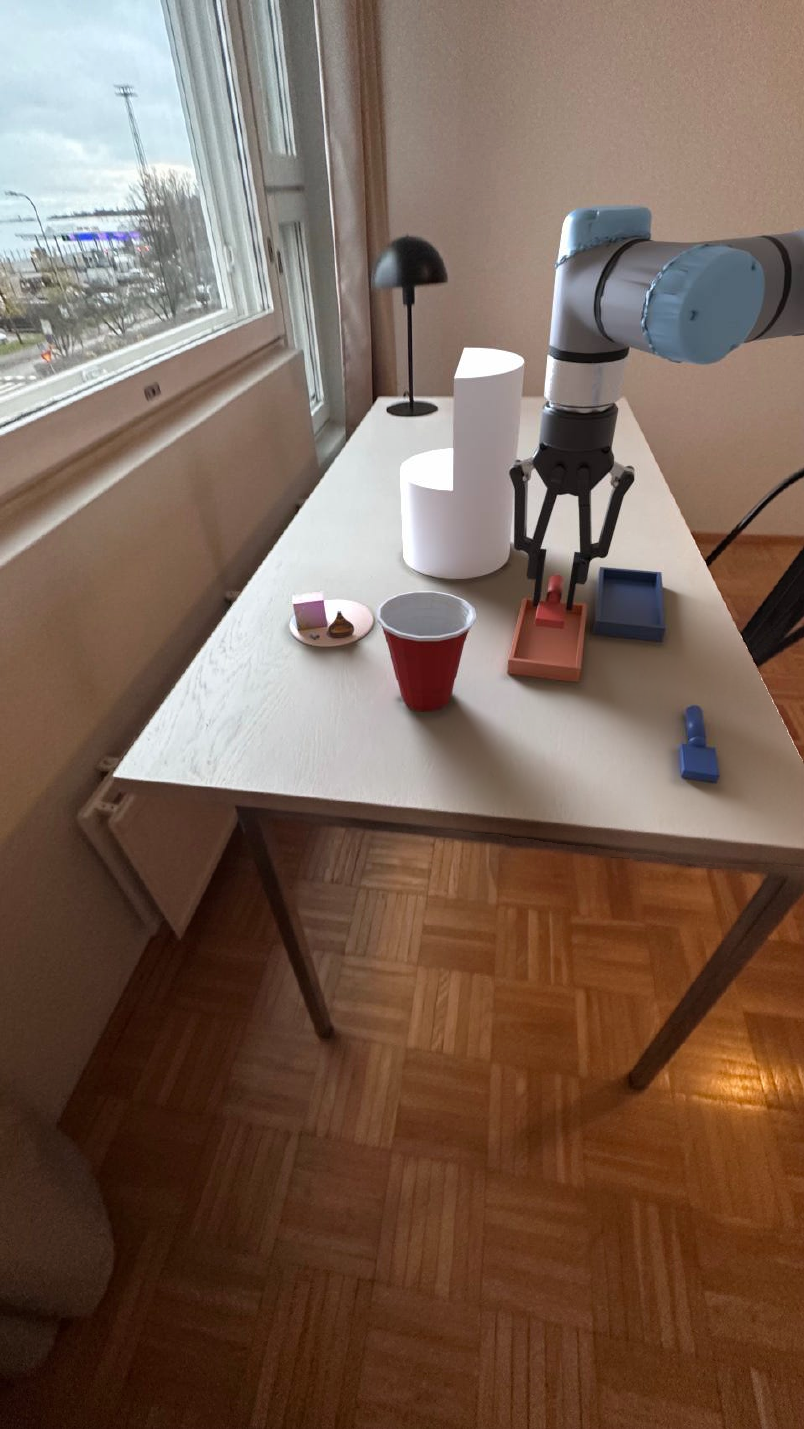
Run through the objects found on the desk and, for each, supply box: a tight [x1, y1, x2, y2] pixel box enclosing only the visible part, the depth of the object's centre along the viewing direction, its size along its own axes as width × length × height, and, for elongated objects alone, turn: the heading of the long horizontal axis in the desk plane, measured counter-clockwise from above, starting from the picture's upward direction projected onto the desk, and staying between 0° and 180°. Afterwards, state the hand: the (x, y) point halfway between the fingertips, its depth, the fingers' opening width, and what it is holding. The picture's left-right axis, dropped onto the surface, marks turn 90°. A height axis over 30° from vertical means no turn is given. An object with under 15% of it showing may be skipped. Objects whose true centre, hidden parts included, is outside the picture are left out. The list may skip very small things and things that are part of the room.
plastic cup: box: [376, 590, 477, 713], centre depth 72 cm, size 11×11×12 cm
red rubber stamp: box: [535, 573, 567, 629], centre depth 79 cm, size 11×3×2 cm, turn 165°
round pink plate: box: [288, 590, 375, 648], centre depth 88 cm, size 12×12×4 cm
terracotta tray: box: [506, 597, 588, 683], centre depth 82 cm, size 9×15×2 cm, turn 165°
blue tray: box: [593, 566, 666, 643], centre depth 88 cm, size 9×15×2 cm, turn 165°
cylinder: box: [399, 347, 526, 580], centre depth 94 cm, size 17×17×28 cm
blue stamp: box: [678, 704, 720, 784], centre depth 67 cm, size 11×3×2 cm, turn 165°
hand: (553, 602), depth 79 cm, fingers closed on red rubber stamp, 3 cm apart
